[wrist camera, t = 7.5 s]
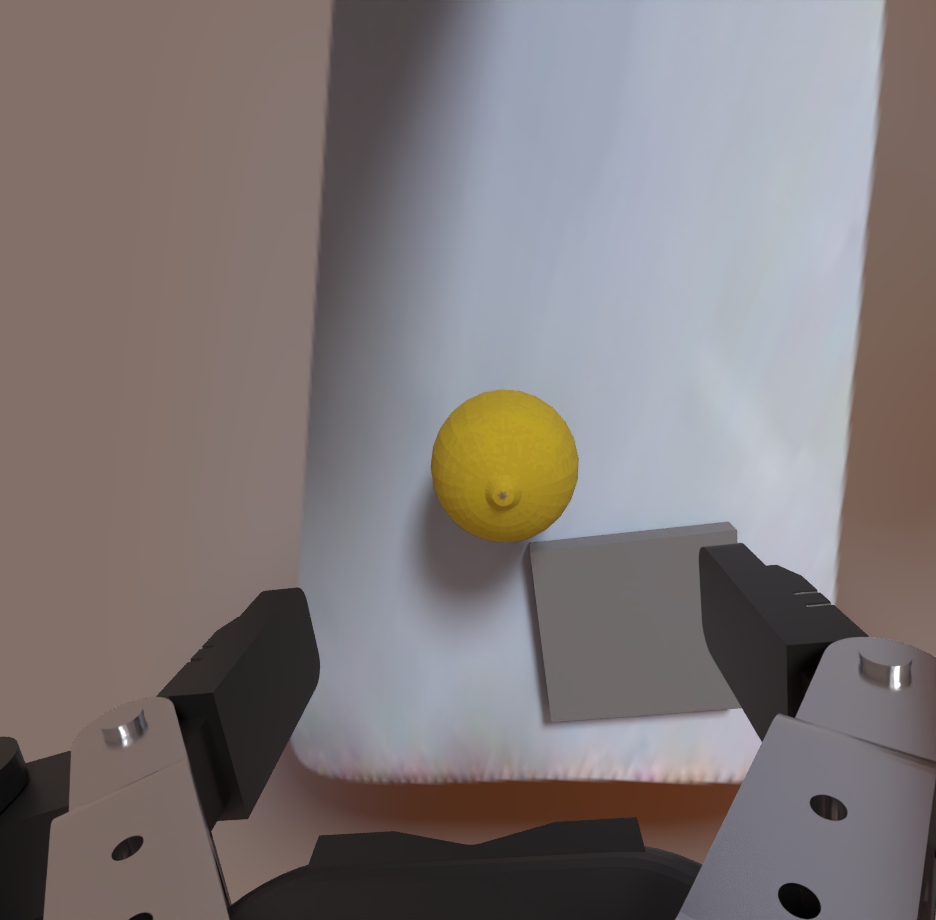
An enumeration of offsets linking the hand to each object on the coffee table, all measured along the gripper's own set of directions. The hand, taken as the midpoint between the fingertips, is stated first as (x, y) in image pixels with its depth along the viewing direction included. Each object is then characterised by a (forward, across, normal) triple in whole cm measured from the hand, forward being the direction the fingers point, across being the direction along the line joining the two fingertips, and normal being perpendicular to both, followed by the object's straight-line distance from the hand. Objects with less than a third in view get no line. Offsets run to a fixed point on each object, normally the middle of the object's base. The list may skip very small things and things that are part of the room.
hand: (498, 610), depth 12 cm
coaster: (+15, -5, +9) cm, 18 cm away
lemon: (+15, 0, 0) cm, 15 cm away
